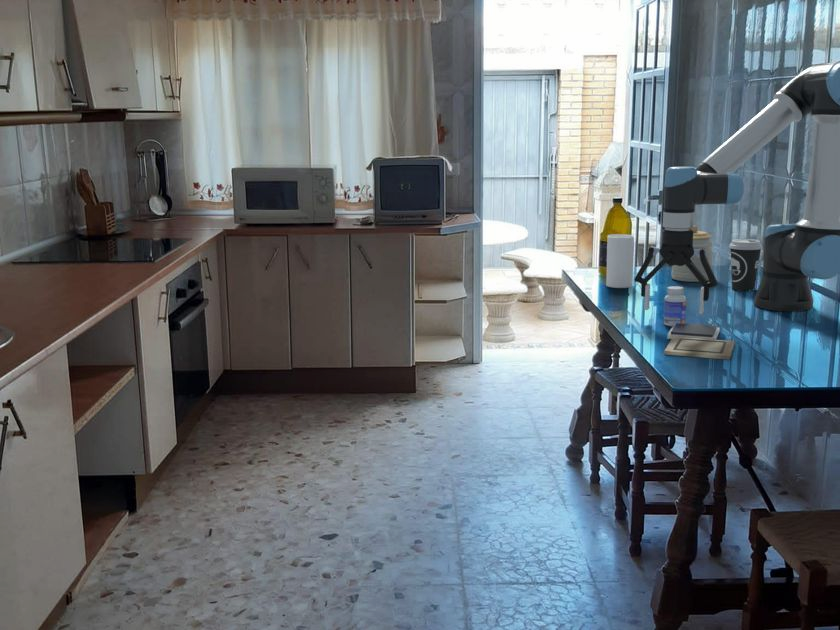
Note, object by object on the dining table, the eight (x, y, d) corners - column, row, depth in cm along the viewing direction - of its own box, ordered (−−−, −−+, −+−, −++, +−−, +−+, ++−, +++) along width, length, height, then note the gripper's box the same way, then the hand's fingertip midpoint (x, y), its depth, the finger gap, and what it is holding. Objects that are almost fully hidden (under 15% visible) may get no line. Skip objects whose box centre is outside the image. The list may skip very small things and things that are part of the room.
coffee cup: (756, 293, 257) (759, 243, 254) (723, 290, 262) (725, 242, 259) (762, 287, 265) (765, 239, 262) (730, 285, 270) (733, 238, 267)
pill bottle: (686, 327, 219) (687, 289, 216) (664, 326, 220) (665, 289, 217) (684, 322, 224) (685, 285, 222) (662, 321, 225) (664, 285, 223)
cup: (636, 284, 276) (637, 234, 273) (627, 288, 269) (628, 238, 266) (611, 282, 280) (612, 233, 277) (602, 286, 274) (603, 236, 270)
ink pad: (719, 331, 213) (719, 325, 213) (714, 342, 203) (715, 335, 203) (673, 328, 217) (674, 322, 217) (667, 338, 208) (667, 332, 207)
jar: (717, 281, 276) (720, 227, 272) (677, 282, 277) (679, 228, 273) (705, 274, 289) (707, 222, 285) (666, 275, 289) (668, 223, 285)
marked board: (734, 344, 201) (735, 340, 201) (729, 359, 189) (729, 355, 188) (673, 339, 207) (673, 335, 206) (664, 354, 194) (664, 350, 194)
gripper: (731, 228, 215) (726, 311, 219) (630, 225, 225) (627, 304, 229) (729, 232, 208) (723, 317, 212) (625, 228, 218) (622, 310, 223)
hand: (673, 311), depth 221 cm, fingers open, 13 cm apart
